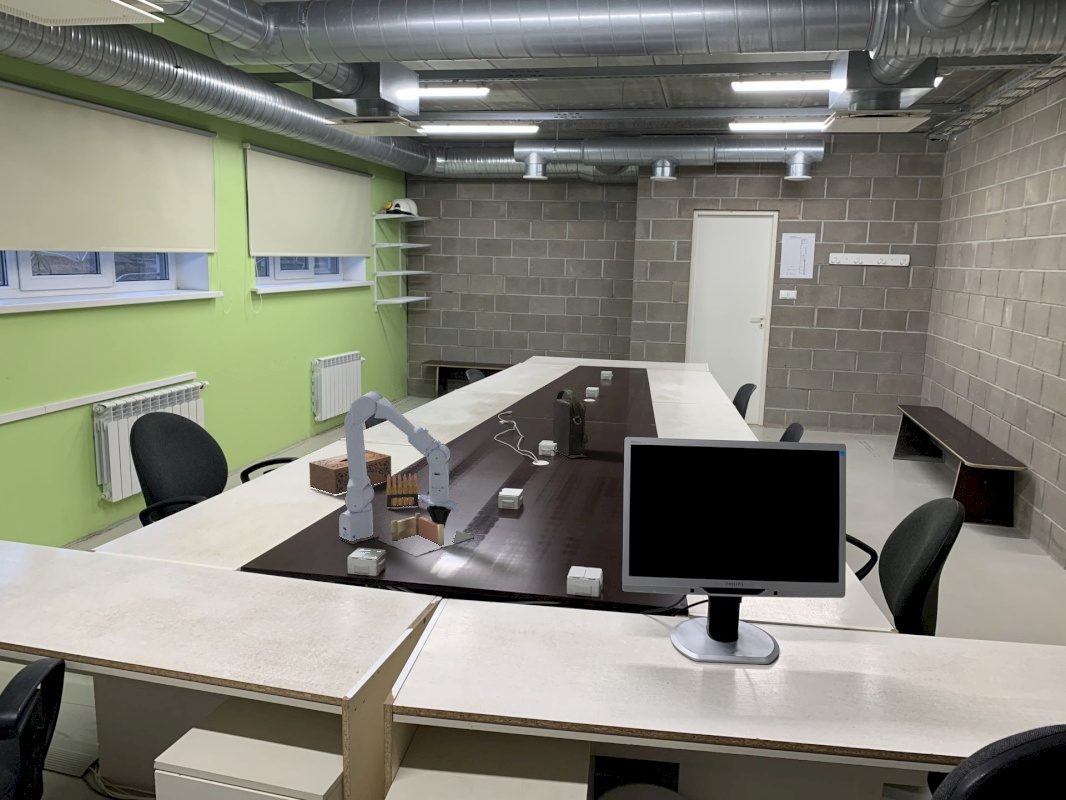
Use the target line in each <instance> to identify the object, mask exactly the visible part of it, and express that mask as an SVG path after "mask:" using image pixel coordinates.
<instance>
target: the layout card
mask: <svg viewBox="0 0 1066 800" xmlns="http://www.w3.org/2000/svg"><path fill="white" fill-rule="evenodd" d="M455 530H456V529H455ZM453 539H454V542H453V541H452V542H453V543H457V544H459V542H460V543H463V542H466V541H469V540H472V539H475V537H474V536H473V535H469V534H466V533H464V532H462V531H459V530H456V535H455V538H453Z"/></svg>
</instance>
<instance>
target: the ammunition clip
mask: <svg viewBox="0 0 1066 800" xmlns="http://www.w3.org/2000/svg"><path fill="white" fill-rule="evenodd" d="M396 476H397V475H396V474H395V473H393V475H392V478H391V479H390V475H389V474H388V477H387V483H386V506H387V507H403V506H404V507H406V506H408V507H409V506H420V503H419V484H418V476H417V473H416V472H415V473H414V475H413V477H412V474H411V472H410V473H409V474H408V478H407V474H406V473H404V475H403V477H402V475H401V473H399V474H398V477H396ZM402 478H403V481H402ZM407 479H408V480H407ZM397 505H398V506H397Z"/></svg>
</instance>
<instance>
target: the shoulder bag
mask: <svg viewBox="0 0 1066 800" xmlns="http://www.w3.org/2000/svg"><path fill="white" fill-rule="evenodd" d="M565 393H566V394H567V396H568V397H569V398H567V397H565V398H563V397H564V395H565ZM586 408H587V407H586V405H585V403H582V402H580V401H579V400H578V398H577V396H576V394H575V393H574V391H573V390H571V389H566V388H564V389H561V390H559V391H558V393H557V394H556V399H555V400H554V401H553V408H552V410H553V411H552V413H553V414H552V415H553V417H552V418H553V419H552V444H553V443H557V450H558V451H559V452H561V453H563V454H565V455H568V456H570V455H581V454H584V453H585V448H586V444H588V442H589V437H588V436H589V435H588V431H587V428H586V411H587V409H586ZM584 455H585V454H584Z"/></svg>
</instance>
